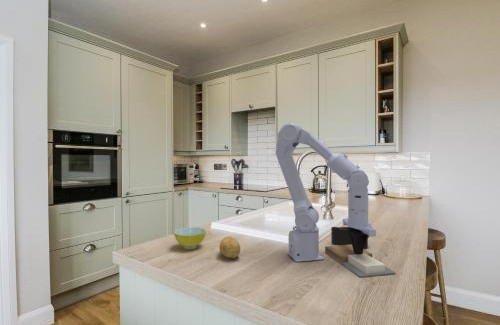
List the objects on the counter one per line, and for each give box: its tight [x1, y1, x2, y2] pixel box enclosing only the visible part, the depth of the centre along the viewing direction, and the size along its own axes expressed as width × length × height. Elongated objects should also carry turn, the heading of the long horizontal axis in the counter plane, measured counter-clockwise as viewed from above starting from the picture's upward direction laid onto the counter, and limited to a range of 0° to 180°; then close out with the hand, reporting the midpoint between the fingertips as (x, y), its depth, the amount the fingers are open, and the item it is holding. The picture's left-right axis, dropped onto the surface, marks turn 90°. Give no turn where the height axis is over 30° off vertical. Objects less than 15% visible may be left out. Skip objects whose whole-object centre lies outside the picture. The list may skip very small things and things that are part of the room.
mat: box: [340, 262, 397, 279], centre depth 79 cm, size 11×10×1 cm
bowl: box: [173, 226, 207, 251], centre depth 99 cm, size 11×12×6 cm
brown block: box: [324, 245, 373, 264], centre depth 89 cm, size 11×10×2 cm
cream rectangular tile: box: [348, 254, 386, 274], centre depth 80 cm, size 6×9×2 cm, turn 11°
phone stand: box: [330, 226, 369, 250], centre depth 102 cm, size 9×6×12 cm
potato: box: [219, 236, 241, 259], centre depth 90 cm, size 7×11×6 cm, turn 10°
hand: (358, 253), depth 83 cm, fingers closed
